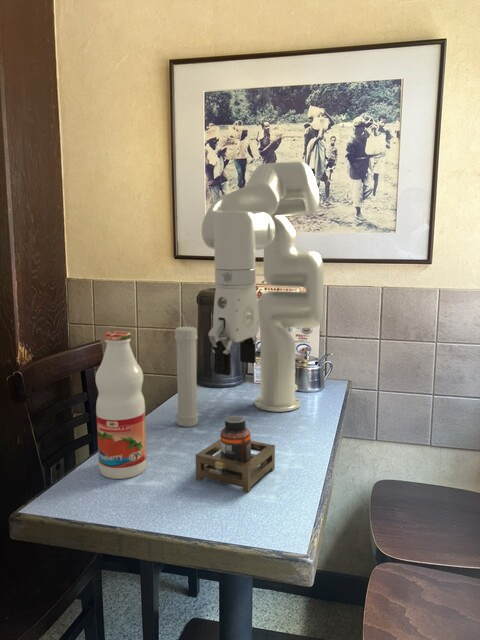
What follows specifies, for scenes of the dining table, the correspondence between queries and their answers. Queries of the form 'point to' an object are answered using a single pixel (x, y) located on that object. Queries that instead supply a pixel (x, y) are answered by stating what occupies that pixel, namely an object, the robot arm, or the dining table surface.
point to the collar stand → (235, 465)
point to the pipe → (186, 375)
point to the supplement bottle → (235, 442)
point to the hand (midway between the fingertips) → (235, 368)
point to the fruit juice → (120, 410)
